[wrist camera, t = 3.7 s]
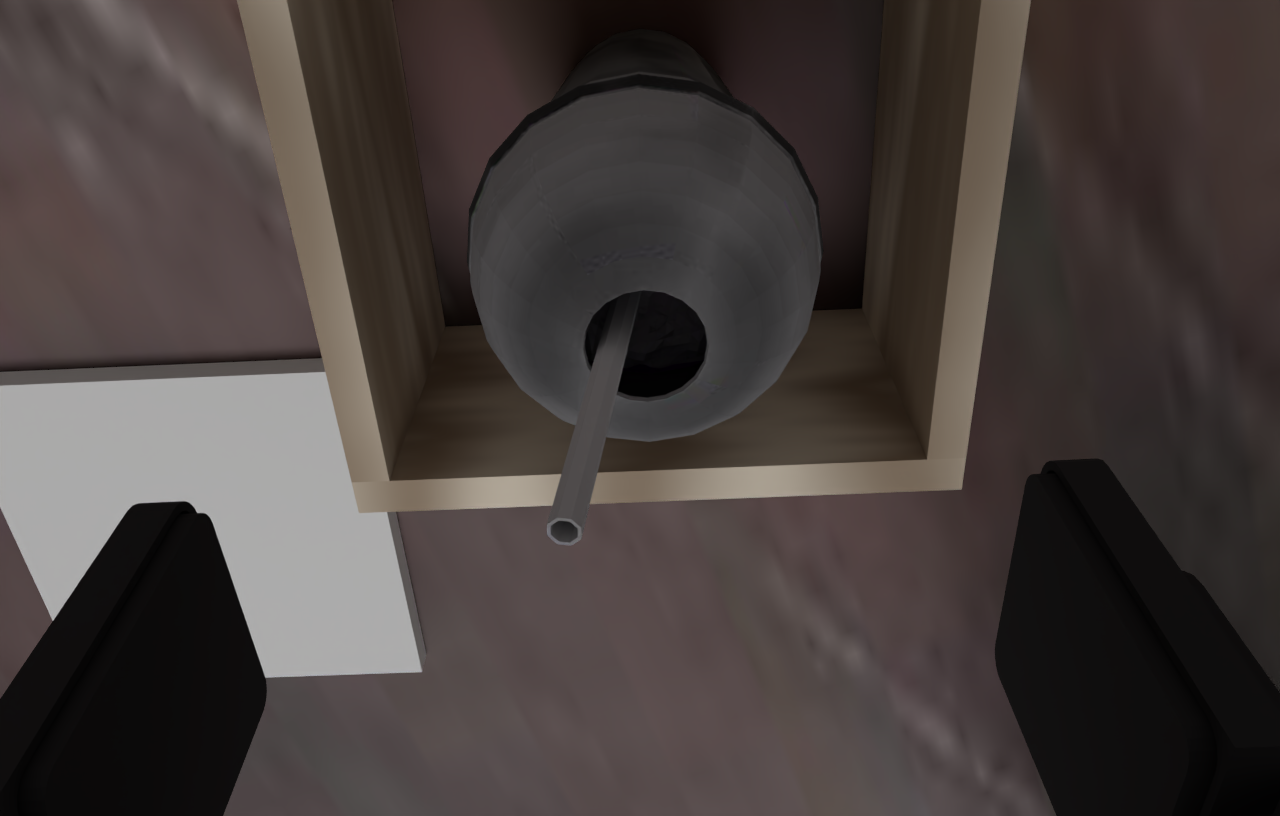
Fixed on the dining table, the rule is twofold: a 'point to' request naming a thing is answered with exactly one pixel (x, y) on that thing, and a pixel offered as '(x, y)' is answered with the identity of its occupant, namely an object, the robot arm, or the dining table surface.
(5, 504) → the tile
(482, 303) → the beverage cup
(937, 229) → the crate
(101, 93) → the dining table surface
